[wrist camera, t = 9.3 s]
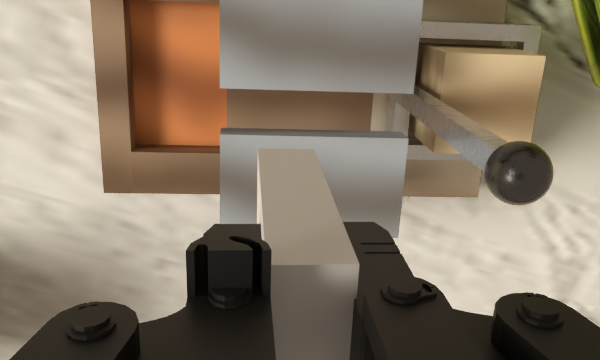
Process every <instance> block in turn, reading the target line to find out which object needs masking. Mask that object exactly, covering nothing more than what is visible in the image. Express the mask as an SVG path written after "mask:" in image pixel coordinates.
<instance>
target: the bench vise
mask: <svg viewBox="0 0 600 360" xmlns="http://www.w3.org/2000/svg"><path fill="white" fill-rule="evenodd" d="M507 1H508V0H90V3H91V17H92V31H93V45H94V59H95V73H96V87H97V101H98V115H99V129H100V143H101V157H102V171H103V186H104V193H168V194H220V224H257V163H258V149H314V151H315V154H316V156H317V159H318V161H319V164H320V166H321V169H322V171H323V174H324V176H325V179H326V181H327V184H328V186H329V189H330V191H331V194H332V197H333V199H334V202H335V204H336V207H337V209H338V212H339V214H340V217H341V219H342V222H375V223H377V224H378V225H380V226H381V227H383V228H384V229H386V230H387V231H389V233H390V235H391V237H392V238H398V233H399V224H400V214H401V205H402V196H425V197H478V192H479V185H480V179H481V172H482V171H481V170H480V169H479V168H477V167H476V166H475V165H474V164H473V163H471V162H470V161H467V160H411V159H406V158H407V149H408V140H409V138H416V137H415V136H414V135H413V134H412V133H411V132H410V131H409V130H408V136H406V135H404V134H403V133H402V132H393V131H386V123H387V112H388V101H389V93H401V94H413V93H414V84H415V74H416V65H417V56H418V46H419V42H420V43H447V44H474V45H501V41H493V40H466V39H440V38H419V37H420V28H421V20H439V21H464V22H488V23H504V21H505V14H506V8H507Z"/></svg>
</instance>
